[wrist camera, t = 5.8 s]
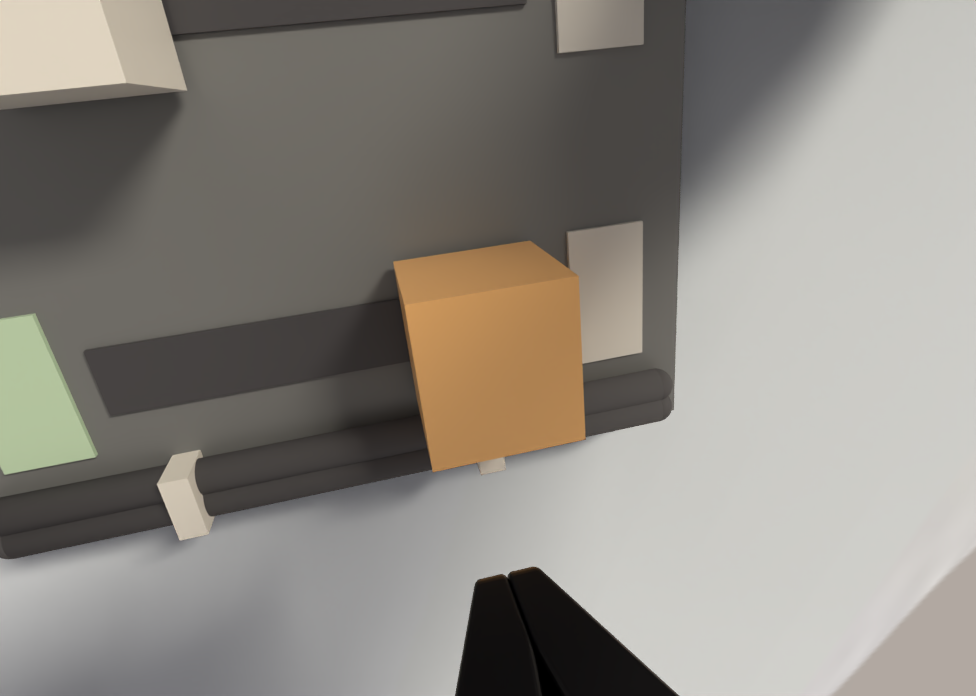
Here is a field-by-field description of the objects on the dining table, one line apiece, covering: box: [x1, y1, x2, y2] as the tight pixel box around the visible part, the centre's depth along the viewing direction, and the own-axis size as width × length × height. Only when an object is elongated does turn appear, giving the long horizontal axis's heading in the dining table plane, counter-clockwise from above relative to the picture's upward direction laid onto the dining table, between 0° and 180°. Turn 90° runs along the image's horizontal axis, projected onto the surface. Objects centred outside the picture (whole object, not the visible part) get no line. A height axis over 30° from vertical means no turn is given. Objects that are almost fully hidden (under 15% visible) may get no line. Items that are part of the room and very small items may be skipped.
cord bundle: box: [0, 368, 673, 559], centre depth 18 cm, size 21×2×2 cm, turn 96°
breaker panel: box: [0, 0, 686, 497], centre depth 16 cm, size 22×18×2 cm
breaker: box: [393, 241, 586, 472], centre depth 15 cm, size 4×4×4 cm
